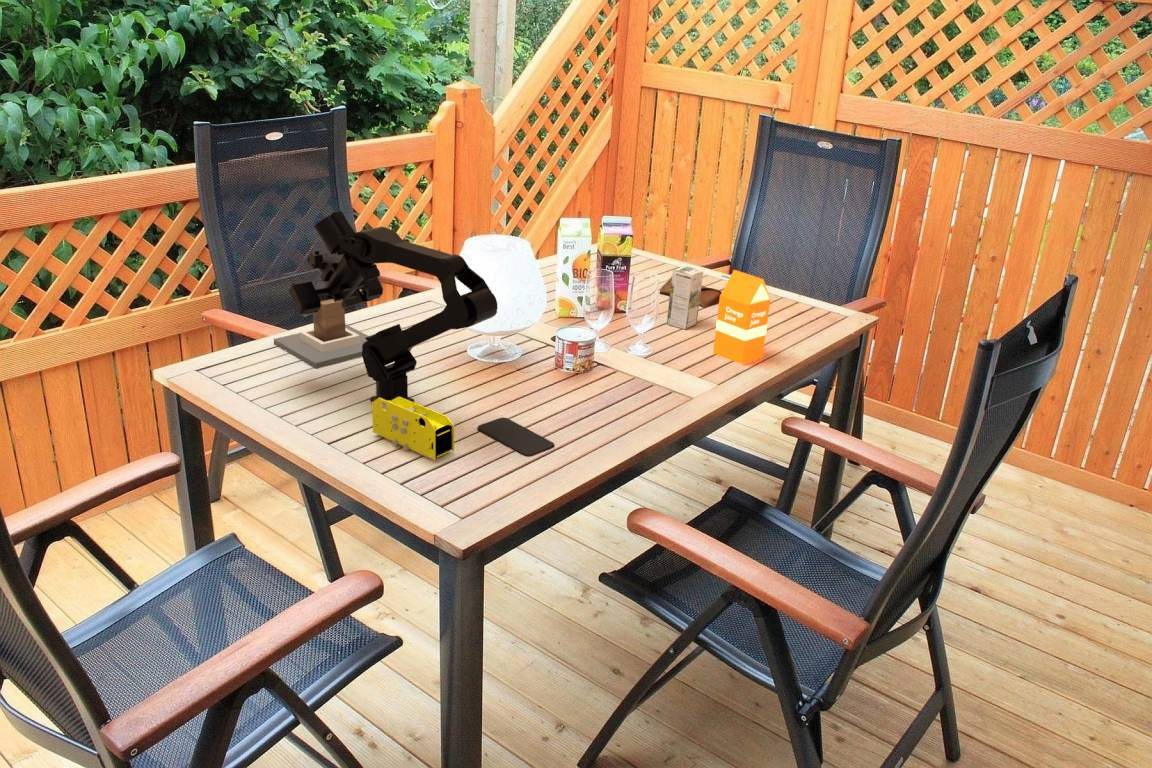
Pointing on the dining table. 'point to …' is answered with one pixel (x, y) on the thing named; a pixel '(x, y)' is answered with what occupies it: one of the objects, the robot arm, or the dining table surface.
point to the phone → (515, 436)
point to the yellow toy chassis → (413, 427)
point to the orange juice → (742, 318)
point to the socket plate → (323, 347)
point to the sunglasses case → (706, 296)
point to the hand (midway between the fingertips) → (323, 310)
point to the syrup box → (684, 297)
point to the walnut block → (329, 321)
